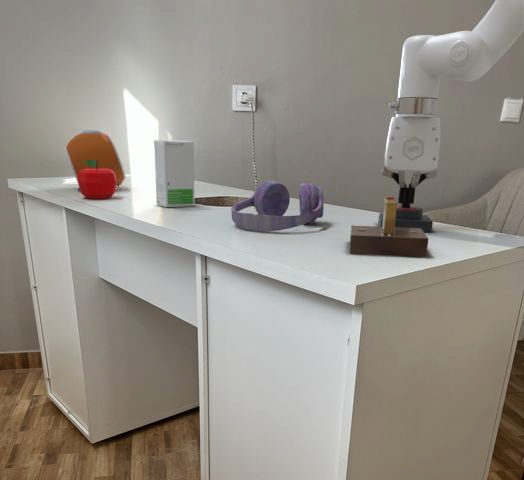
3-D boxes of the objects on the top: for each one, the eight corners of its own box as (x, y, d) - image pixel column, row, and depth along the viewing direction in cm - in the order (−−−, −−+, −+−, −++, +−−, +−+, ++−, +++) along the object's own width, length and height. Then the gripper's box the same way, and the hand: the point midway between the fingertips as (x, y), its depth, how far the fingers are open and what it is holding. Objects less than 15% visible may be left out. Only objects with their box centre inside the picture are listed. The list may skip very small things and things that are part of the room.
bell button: (413, 215, 115) (414, 206, 115) (414, 217, 112) (415, 208, 111) (395, 214, 116) (396, 205, 115) (396, 216, 113) (397, 208, 112)
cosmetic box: (165, 208, 137) (162, 140, 131) (155, 204, 142) (151, 139, 136) (196, 206, 141) (194, 140, 135) (185, 203, 146) (183, 140, 140)
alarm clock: (129, 191, 169) (125, 130, 163) (68, 192, 164) (62, 129, 158) (123, 185, 186) (119, 130, 180) (68, 186, 181) (62, 129, 175)
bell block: (425, 225, 118) (428, 206, 117) (431, 232, 110) (434, 212, 109) (378, 223, 120) (379, 204, 118) (380, 230, 111) (382, 210, 110)
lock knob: (393, 234, 90) (397, 200, 88) (383, 233, 90) (387, 200, 88) (391, 228, 95) (394, 197, 93) (381, 228, 95) (385, 196, 93)
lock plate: (419, 245, 97) (421, 227, 96) (426, 257, 88) (428, 237, 87) (349, 242, 99) (351, 224, 98) (349, 253, 90) (351, 234, 88)
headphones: (261, 211, 128) (216, 238, 113) (259, 175, 124) (212, 198, 108) (336, 218, 120) (299, 248, 105) (337, 180, 116) (298, 205, 101)
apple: (113, 195, 160) (110, 158, 157) (123, 199, 152) (120, 160, 148) (75, 196, 156) (71, 158, 152) (83, 200, 147) (79, 160, 143)
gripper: (377, 108, 104) (368, 208, 111) (460, 109, 102) (445, 211, 109) (376, 109, 111) (367, 203, 118) (453, 111, 109) (440, 206, 116)
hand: (405, 207), depth 113 cm, fingers closed
